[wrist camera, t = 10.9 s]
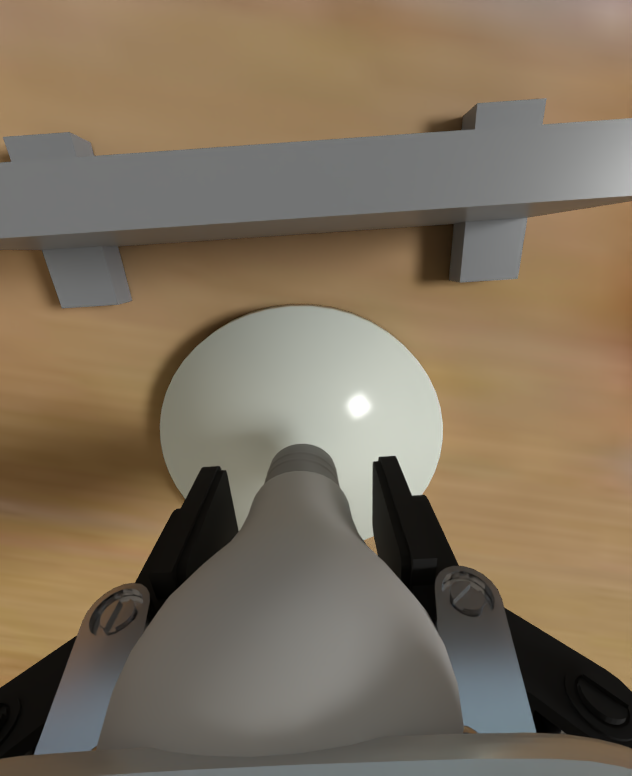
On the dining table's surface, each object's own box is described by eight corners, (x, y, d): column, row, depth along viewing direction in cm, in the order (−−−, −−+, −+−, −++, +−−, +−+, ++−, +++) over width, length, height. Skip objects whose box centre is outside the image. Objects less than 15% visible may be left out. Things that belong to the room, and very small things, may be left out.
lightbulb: (241, 524, 15) (74, 1160, 4) (211, 396, 12) (-293, 1122, 2) (381, 512, 14) (547, 1147, 4) (377, 381, 12) (729, 1095, 2)
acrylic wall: (29, 147, 11) (-270, 35, 5) (525, 111, 11) (761, -43, 5) (80, 304, 13) (-100, 344, 7) (502, 276, 13) (654, 296, 7)
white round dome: (135, 313, 13) (124, 317, 12) (447, 293, 13) (456, 296, 12) (197, 545, 17) (191, 558, 17) (427, 532, 17) (432, 545, 17)
